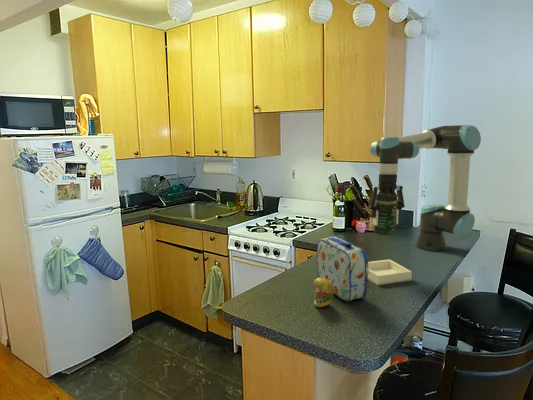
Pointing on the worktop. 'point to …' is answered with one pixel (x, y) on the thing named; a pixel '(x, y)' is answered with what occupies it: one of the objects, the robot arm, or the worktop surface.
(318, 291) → the hamburger
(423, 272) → the worktop surface
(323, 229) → the worktop surface
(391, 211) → the coffee jar
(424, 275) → the worktop surface
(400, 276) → the caddy
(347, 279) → the lunch box
